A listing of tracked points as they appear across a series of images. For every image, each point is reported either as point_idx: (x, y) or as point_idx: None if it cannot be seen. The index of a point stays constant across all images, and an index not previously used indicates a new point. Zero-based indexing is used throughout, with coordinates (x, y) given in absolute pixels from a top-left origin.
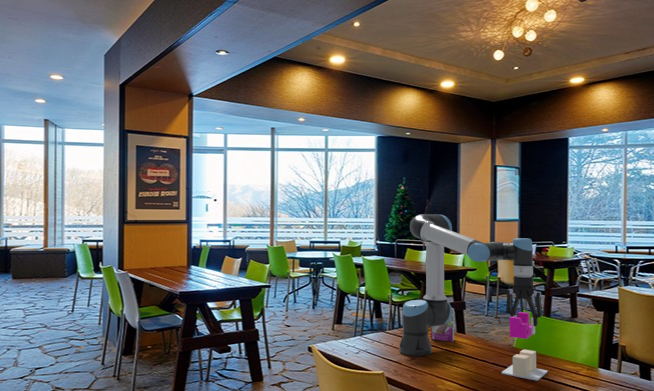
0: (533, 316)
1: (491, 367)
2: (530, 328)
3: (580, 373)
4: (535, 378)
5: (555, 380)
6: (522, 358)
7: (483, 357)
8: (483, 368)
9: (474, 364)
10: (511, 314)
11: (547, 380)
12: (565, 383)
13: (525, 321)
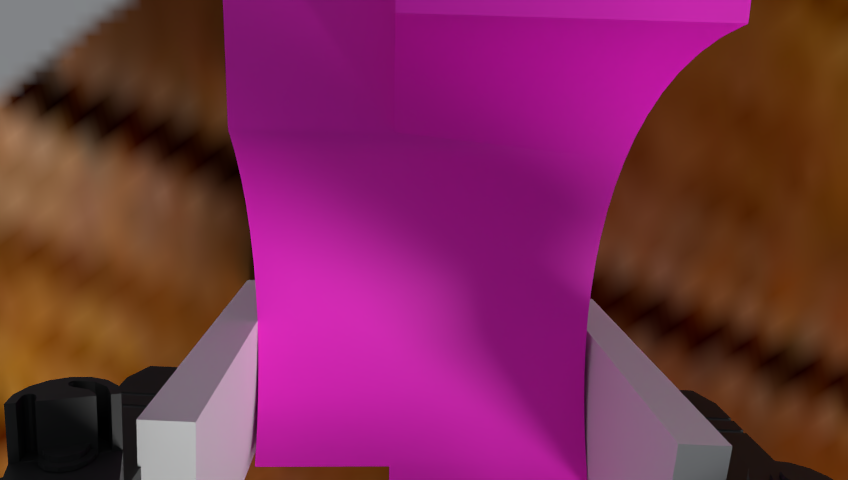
0: (96, 463)
1: (685, 208)
2: (255, 260)
3: None
4: None
5: (144, 156)
6: None
7: (801, 451)
8: (740, 138)
9: (832, 210)
10: (800, 469)
11: (198, 116)
12: (55, 121)
13: None
